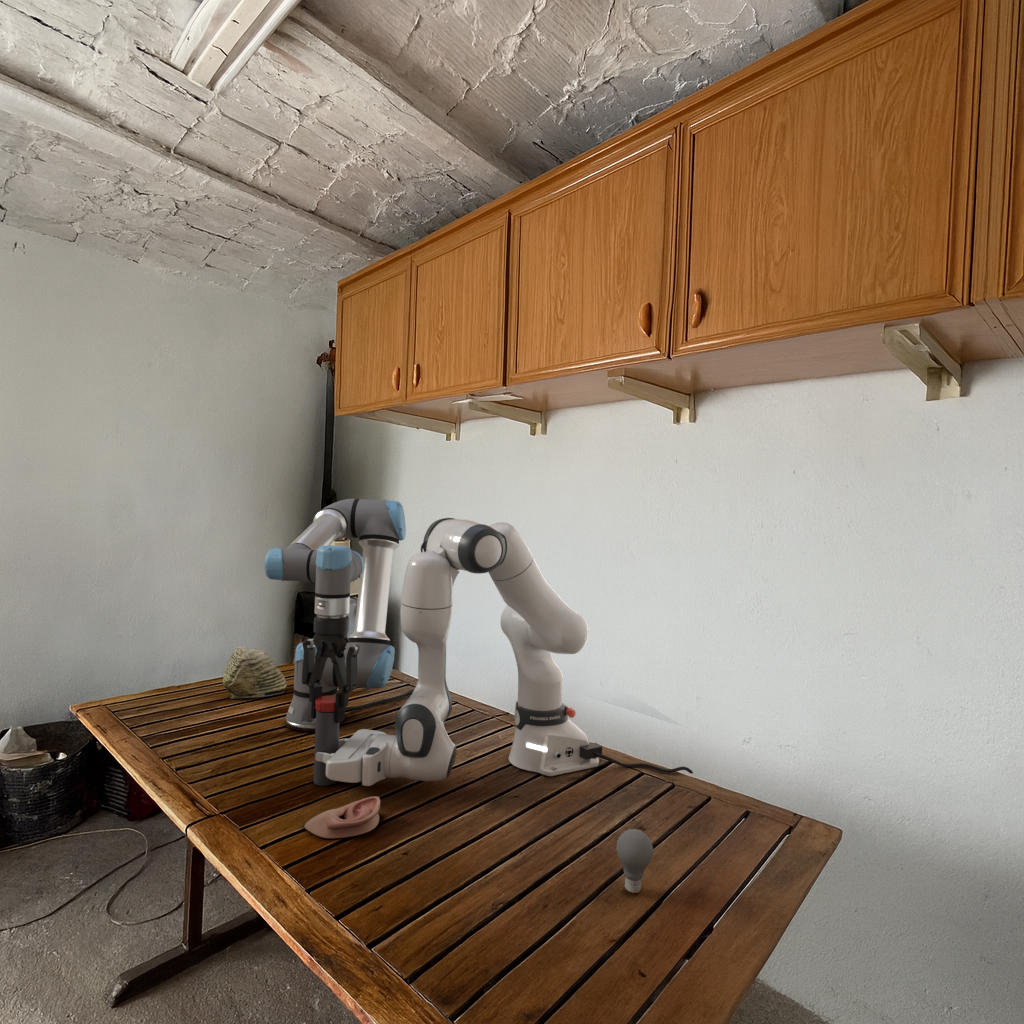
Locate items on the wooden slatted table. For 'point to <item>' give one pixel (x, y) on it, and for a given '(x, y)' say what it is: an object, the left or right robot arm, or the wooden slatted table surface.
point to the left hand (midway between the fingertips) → (327, 718)
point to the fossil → (252, 674)
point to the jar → (325, 744)
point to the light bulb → (634, 857)
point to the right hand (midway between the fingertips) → (322, 749)
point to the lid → (325, 703)
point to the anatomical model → (346, 819)
